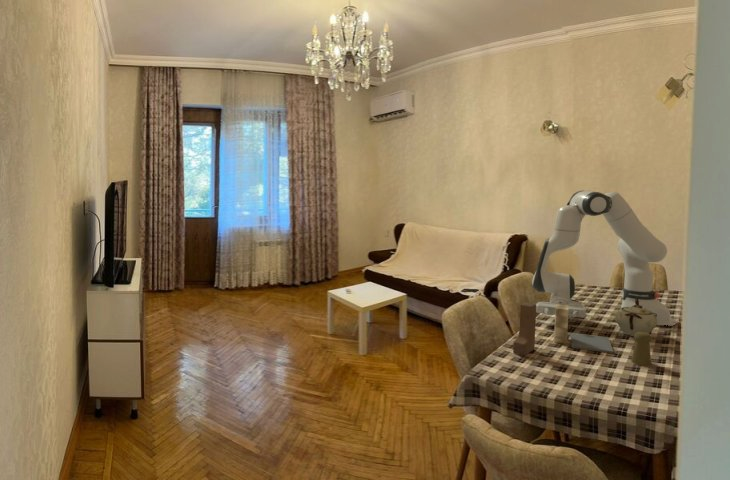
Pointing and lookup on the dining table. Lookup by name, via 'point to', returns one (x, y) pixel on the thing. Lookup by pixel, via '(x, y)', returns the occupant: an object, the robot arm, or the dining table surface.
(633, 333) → the sugar bowl
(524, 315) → the wooden block
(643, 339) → the olive peg figure
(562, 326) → the pine block
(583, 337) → the grey mat
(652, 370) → the dining table surface
